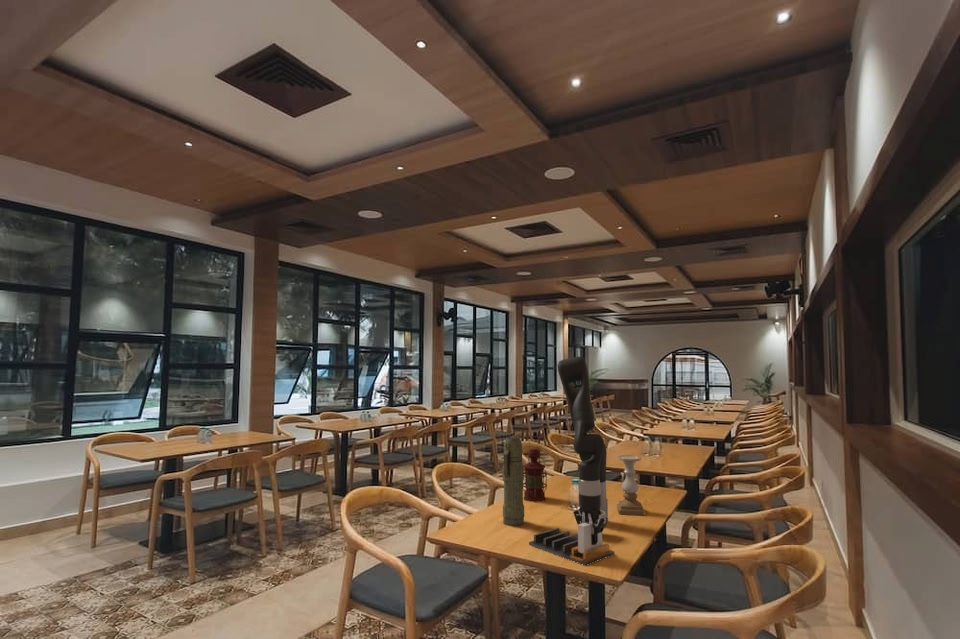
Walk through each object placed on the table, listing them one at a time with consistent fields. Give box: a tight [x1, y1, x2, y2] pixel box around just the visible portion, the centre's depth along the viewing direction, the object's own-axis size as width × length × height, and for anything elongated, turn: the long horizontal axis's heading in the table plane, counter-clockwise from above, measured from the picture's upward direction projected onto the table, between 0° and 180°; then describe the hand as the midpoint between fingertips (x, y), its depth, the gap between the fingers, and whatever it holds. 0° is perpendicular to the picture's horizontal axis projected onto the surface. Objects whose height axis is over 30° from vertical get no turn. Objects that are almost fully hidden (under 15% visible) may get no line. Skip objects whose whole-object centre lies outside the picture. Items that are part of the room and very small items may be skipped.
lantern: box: [523, 435, 548, 503], centre depth 262 cm, size 12×12×30 cm
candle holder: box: [616, 454, 646, 516], centre depth 239 cm, size 11×11×24 cm
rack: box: [528, 527, 616, 566], centre depth 191 cm, size 16×26×4 cm, turn 40°
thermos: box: [502, 436, 525, 527], centre depth 224 cm, size 9×12×35 cm
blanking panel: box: [577, 520, 603, 553], centre depth 185 cm, size 10×2×9 cm, turn 130°
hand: (590, 543), depth 185 cm, fingers closed on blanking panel, 2 cm apart
